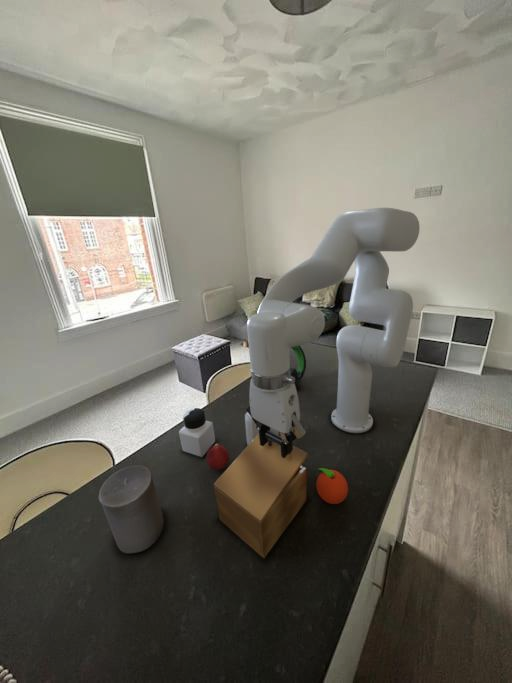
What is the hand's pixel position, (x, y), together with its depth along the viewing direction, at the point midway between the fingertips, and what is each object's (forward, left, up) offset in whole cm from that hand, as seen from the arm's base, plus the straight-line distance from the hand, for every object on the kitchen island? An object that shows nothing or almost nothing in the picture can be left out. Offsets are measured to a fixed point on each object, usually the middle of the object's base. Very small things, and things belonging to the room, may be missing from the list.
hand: (275, 447), depth 61 cm
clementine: (-7, +10, -14) cm, 19 cm away
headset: (-39, -25, -14) cm, 48 cm away
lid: (+5, 0, -3) cm, 6 cm away
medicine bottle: (+1, -28, -14) cm, 31 cm away
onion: (+3, -17, -14) cm, 22 cm away
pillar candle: (+25, -18, -14) cm, 34 cm away
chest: (+5, 0, -14) cm, 15 cm away
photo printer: (-12, -14, -14) cm, 23 cm away
